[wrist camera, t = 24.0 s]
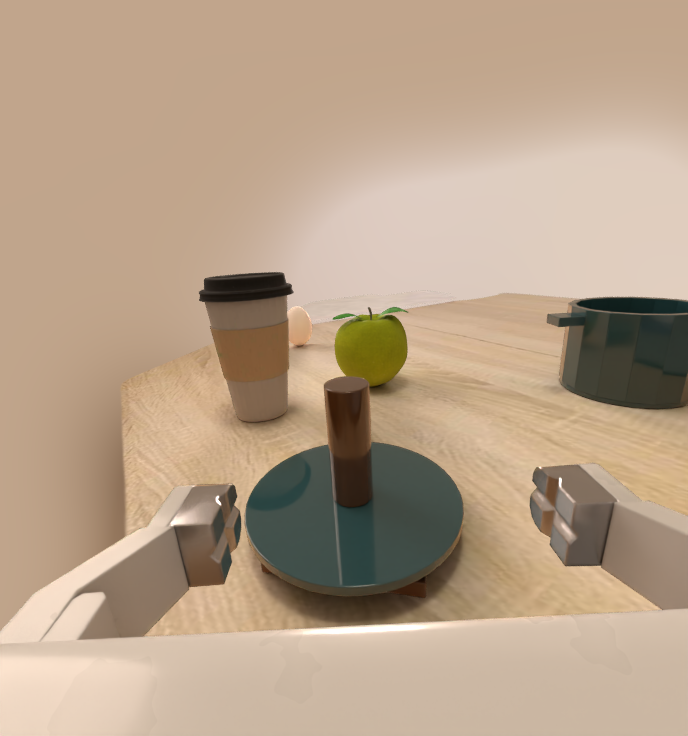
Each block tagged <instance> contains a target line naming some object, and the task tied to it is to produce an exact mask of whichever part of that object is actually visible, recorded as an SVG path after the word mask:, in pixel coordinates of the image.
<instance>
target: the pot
mask: <svg viewBox="0 0 688 736" xmlns="http://www.w3.org/2000/svg"><path fill="white" fill-rule="evenodd" d="M547 323H549V324H552V325H555V326H557V327H565V333H564V340H563V348H562V355H561V363H560V370H559V376H560V378H559V381H560V383H561V385H562V386H563V387H565V388H566V389H568V390H569V391H571V392H573V393H576V394H578V395H580V396H583V397H586V398H589V399H592V400H596V401H600V402H604V403H609V404H614V405H620V406H627V407H635V408H648V409H665V408H675V407H681V406H684V405H687V404H688V301H687V300H679V299H667V298H649V297H599V298H586V299H579V300H574V301H572V302H570V303H568V310H567V313H558V314H548V315H547Z"/></svg>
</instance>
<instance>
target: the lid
mask: <svg viewBox="0 0 688 736" xmlns="http://www.w3.org/2000/svg"><path fill="white" fill-rule="evenodd" d="M324 396H325V409H326V421H327V434H328V445H323V446H319V447H315V448H312V449H309V450H306V451H303V452H301V453H299V454H296V455H294V456H292V457H290V458H288V459H286V460H284V461H283V462H281V463H280V464H278V465H277V466H275V467H274V468H273V469H271V470H270V471H269V472H268V473H267V474H266V475H265V476H264V477H263V478H262V479H261V480H260V481H259V482H258V484H257V485H256V486H255V488H254V489H253V491H252V493H251V495H250V497H249V499H248V502H247V505H246V510H245V528H246V533H247V538H248V541H249V544H250V546H251V548H252V550H253V552H254V554H255V555H256V556H257V558H258V559H259V561H260V562H261V563H262V564H263V565H264V566H265V567H266V568H267V569H268V570H269V571H271V572H272V573H273V574H275V575H276V576H278V577H279V578H281V579H282V580H284V581H286V582H288V583H290V584H292V585H294V586H296V587H299V588H302V589H305V590H308V591H311V592H316V593H321V594H326V595H334V596H347V597H348V596H368V595H374V594H380V593H385V592H389V591H392V590H396V589H399V588H402V587H405V586H407V585H409V584H411V583H414V582H416V581H418V580H420V579H421V578H423V577H425V576H426V575H428V574H430V573H431V572H432V571H434V570H435V569H436V568H437V567H438V566H440V565H441V564H442V563H443V562H444V561H445V560H446V558H447V557H448V556H449V555H450V554H451V553H452V551H453V549H454V548H455V546H456V544H457V543H458V540H459V538H460V535H461V532H462V527H463V519H464V510H463V502H462V498H461V494H460V492H459V490H458V488H457V486H456V484H455V483H454V481H453V480H452V479H451V477H450V476H449V475H448V474H447V473H446V472H445V471H444V470H443V469H442V468H441V467H439V466H438V465H437V464H436V463H434V462H433V461H431V460H430V459H428V458H426V457H424V456H422V455H420V454H418V453H416V452H413V451H411V450H408V449H405V448H402V447H399V446H394V445H390V444H384V443H377V442H371V417H370V391H369V382H368V381H367V380H366V379H363V378H360V377H352V376H347V377H338V378H334V379H331V380H329V381H327V382H326V383H325V384H324Z"/></svg>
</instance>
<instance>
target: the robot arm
mask: <svg viewBox="0 0 688 736" xmlns="http://www.w3.org/2000/svg"><path fill="white" fill-rule="evenodd" d="M532 481H533V482H534V484H535V485H536V486H537V488H536V489H535V491H534V492H533V493H532V494H531V497H530V509H531V514H532V518H533V520H534V522H535V524H536V526H537V527H538V529H539V530H540V532H542V533H544V534H545V535H547V536H549V537H551V540H550V546H551V547H552V549H553V550H554V551H555V553H556V554H557V556H558V557H559V558H560V560H561V561H562V563H563V564H564V565H565V566H601V568H603V569H604V570H606V571H607V572H609V573H610V574H611V575H613V576H614V577H616V578H617V579H619V580H620V581H622V582H623V583H624V584H626V585H627V586H629V587H630V588H632V589H633V590H635V591H636V592H637V593H639V594H640V595H642V596H643V597H645V598H646V599H647V600H649V601H650V602H652V603H653V604H655V605H656V606H658V607H659V608H660V609H662V610H650V611H633V612H614V613H594V614H574V615H553V616H533V617H513V618H493V619H473V620H454V621H435V622H416V623H397V624H378V625H359V626H340V627H320V628H301V629H282V630H262V631H243V632H224V633H204V634H185V635H165V636H146V637H143V636H144V635H145V634H146V633H147V632H148V631H149V630H150V629H151V628H152V627H153V626H154V625H155V624H156V623H157V622H158V621H159V620H160V619H161V618H162V617H163V616H164V615H165V614H166V613H167V611H168V610H169V609H170V608H171V607H172V606H173V605H174V604H175V603H176V602H177V601H178V600H179V599H180V598H181V597H182V596H183V595H184V594H185V593H186V592H187V591H188V590H189V587H197V586H209V585H221V584H224V583H225V580H226V577H227V574H228V571H229V569H230V566H231V563H232V560H231V554H230V553H231V552H232V551H233V550H235V549H236V548H237V545H238V542H239V539H240V532H241V516H240V511H239V510H238V509H237V508H236V507H235V506H234V503H235V501H236V498H237V494H236V489H235V486H234V485H233V484H205V485H182V486H177V487H174V488H173V490H172V491H171V493H170V494H169V495H168V497H167V498H166V500H165V501H164V503H163V504H162V505H161V507H160V508H159V510H158V511H157V513H156V514H155V515H154V517H153V518H152V520H151V521H150V523H149V524H148V525H147V527H146V528H139V529H138V530H136V531H134V532H133V533H131V534H130V535H128V536H126V537H125V538H123V539H122V540H120V541H118V542H117V543H115V544H113V545H112V546H110V547H109V548H107V549H105V550H104V551H102V552H101V553H99V554H97V555H96V556H94V557H92V558H91V559H89V560H88V561H86V562H84V563H83V564H81V565H79V566H78V567H76V568H75V569H73V570H71V571H70V572H68V573H67V574H65V575H63V576H62V577H60V578H58V579H57V580H55V581H54V582H52V583H50V584H49V585H47V586H46V587H44V588H42V589H41V590H39V591H37V592H36V593H34V594H33V595H32V596H31V597H30V598H29V600H28V601H27V602H26V603H25V604H24V605H23V606H22V607H21V609H20V610H19V611H18V612H17V613H16V614H15V615H14V616H13V618H12V619H11V620H10V621H9V622H8V623H7V624H6V626H5V627H4V628H3V629H2V630H1V631H0V736H688V516H687V515H684V514H681V513H679V512H676V511H674V510H671V509H669V508H666V507H664V506H661V505H659V504H656V503H654V502H651V501H642V500H641V499H640V498H639V497H637V496H636V495H635V494H634V493H633V492H631V491H630V490H629V489H628V488H627V487H625V486H624V485H623V484H622V483H621V482H619V481H618V480H617V479H616V478H615V477H613V476H612V475H611V474H610V473H609V472H607V471H606V470H605V469H604V468H603V467H601V466H600V465H598V464H595V463H584V464H574V465H564V466H550V467H536V469H535V471H534V473H533V480H532Z"/></svg>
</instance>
